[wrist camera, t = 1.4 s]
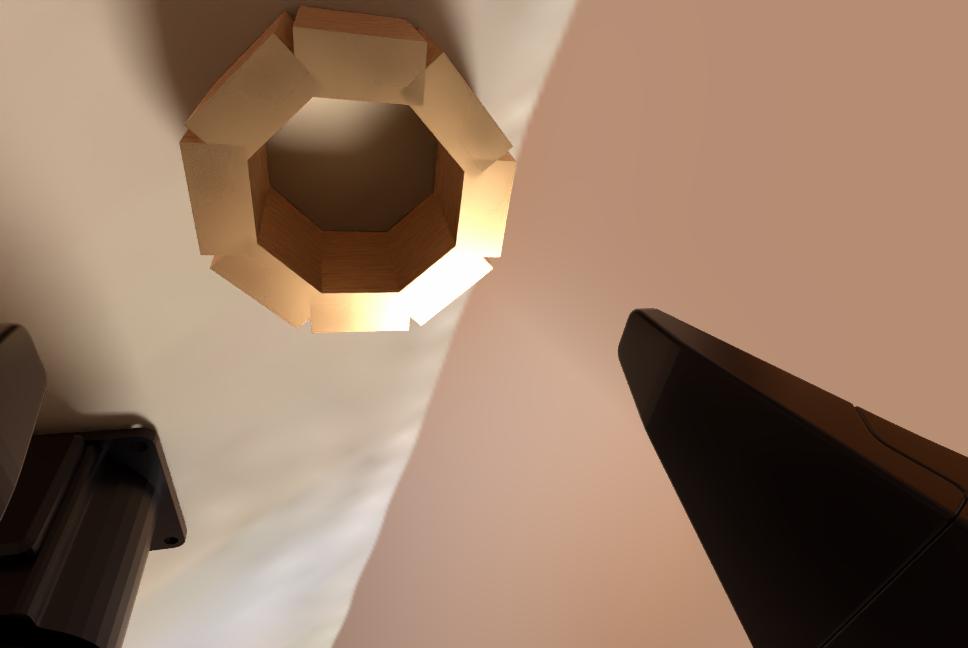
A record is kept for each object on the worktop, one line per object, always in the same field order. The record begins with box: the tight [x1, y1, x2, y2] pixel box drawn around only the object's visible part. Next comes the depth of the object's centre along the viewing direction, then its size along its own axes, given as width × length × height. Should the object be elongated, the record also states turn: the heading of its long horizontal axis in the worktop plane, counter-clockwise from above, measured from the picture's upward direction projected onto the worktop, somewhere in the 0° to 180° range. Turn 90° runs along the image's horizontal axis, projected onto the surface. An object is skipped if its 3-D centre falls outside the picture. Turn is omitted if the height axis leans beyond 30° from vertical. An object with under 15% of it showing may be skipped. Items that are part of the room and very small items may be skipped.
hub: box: [179, 6, 516, 333], centre depth 13 cm, size 7×7×4 cm
